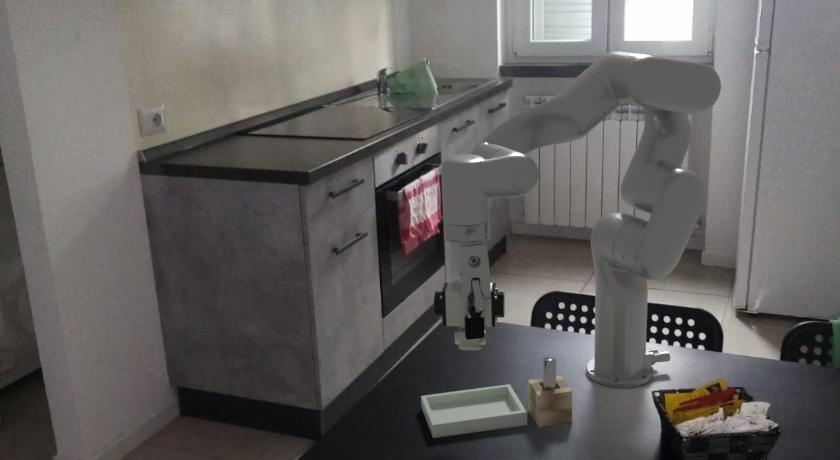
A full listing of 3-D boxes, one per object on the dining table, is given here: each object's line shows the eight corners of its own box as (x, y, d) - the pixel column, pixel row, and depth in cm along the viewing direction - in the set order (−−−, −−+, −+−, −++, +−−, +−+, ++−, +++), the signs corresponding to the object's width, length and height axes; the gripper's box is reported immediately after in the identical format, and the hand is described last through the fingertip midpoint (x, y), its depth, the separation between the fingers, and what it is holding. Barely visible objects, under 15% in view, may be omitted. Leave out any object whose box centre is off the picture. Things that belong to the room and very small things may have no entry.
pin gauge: (553, 412, 153) (553, 355, 150) (557, 418, 151) (557, 361, 148) (541, 414, 153) (541, 357, 150) (545, 420, 151) (545, 362, 147)
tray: (510, 396, 160) (509, 384, 159) (527, 424, 150) (526, 412, 149) (421, 408, 157) (420, 395, 156) (433, 438, 147) (432, 425, 146)
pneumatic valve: (504, 352, 146) (503, 285, 143) (435, 351, 147) (432, 285, 144) (505, 339, 151) (504, 274, 148) (439, 338, 153) (436, 274, 149)
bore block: (560, 405, 155) (560, 375, 153) (572, 422, 150) (572, 391, 148) (528, 410, 154) (527, 379, 153) (538, 427, 149) (538, 395, 147)
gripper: (502, 243, 135) (505, 348, 141) (476, 213, 152) (479, 309, 157) (456, 248, 134) (460, 354, 140) (434, 218, 150) (438, 314, 156)
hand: (470, 329), depth 148 cm, fingers closed on pneumatic valve, 5 cm apart
